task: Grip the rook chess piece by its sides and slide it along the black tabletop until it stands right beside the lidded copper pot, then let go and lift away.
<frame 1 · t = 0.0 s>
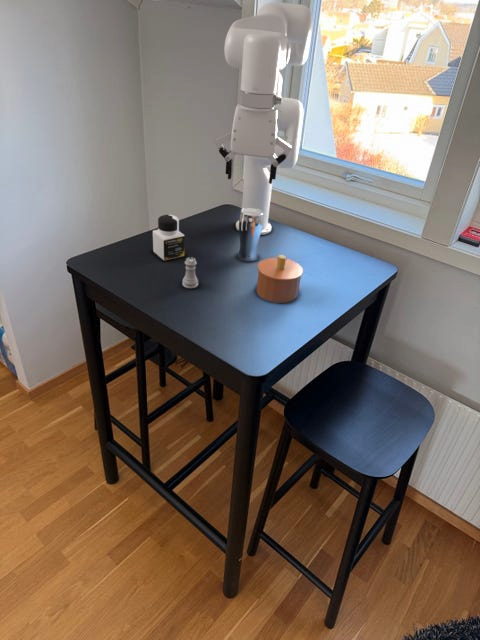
hand: (250, 179, 110), 31 cm above the table, tool pointing down, fingers open, 9 cm apart
metal shaker cup: (247, 257, 146), on the table
rook chess piece: (190, 285, 129), on the table
pot lid: (280, 269, 126), point 7 cm above the table, touching pot
pot: (277, 291, 130), on the table
medicine bottle: (168, 254, 144), on the table
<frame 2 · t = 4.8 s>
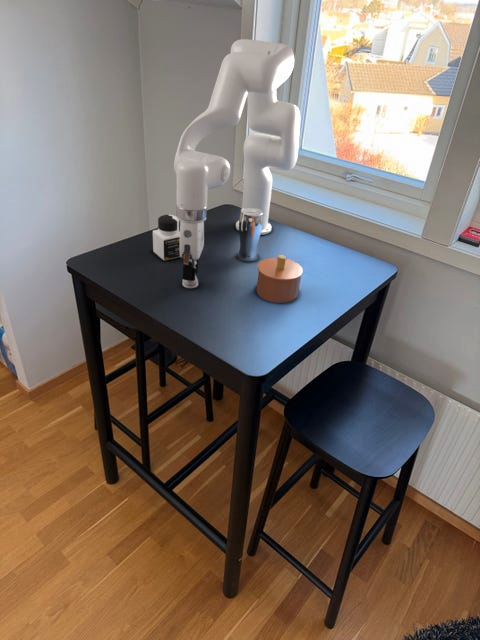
hand: (190, 275, 127), 3 cm above the table, tool pointing down, fingers closed on rook chess piece, 3 cm apart
rook chess piece: (190, 285, 129), on the table, touching gripper
everything else where it was.
when the fingers open (3 cm above the table, at t = 9.0 s): rook chess piece stays where it is, on the table.
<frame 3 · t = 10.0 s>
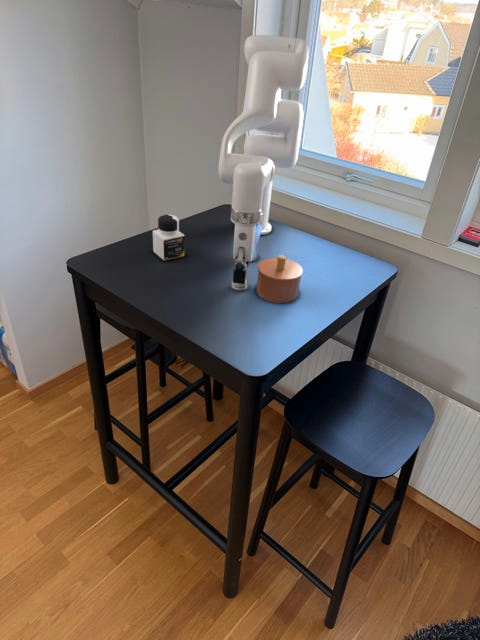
hand: (240, 274, 128), 4 cm above the table, tool pointing down, fingers open, 9 cm apart
rook chess piece: (239, 288, 130), on the table
everything else where it was.
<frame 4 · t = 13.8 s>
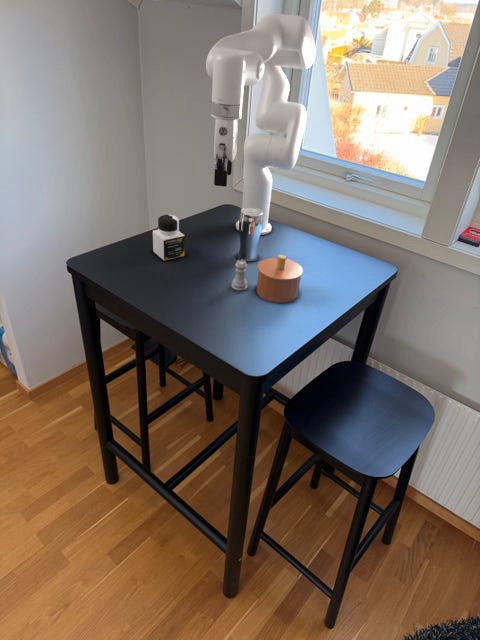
hand: (222, 179, 124), 26 cm above the table, tool pointing down, fingers open, 9 cm apart
nothing on the table moved.
at the end: rook chess piece 10.6 cm from the pot (horizontally); rook chess piece tilted 0°; rook chess piece touching table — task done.
